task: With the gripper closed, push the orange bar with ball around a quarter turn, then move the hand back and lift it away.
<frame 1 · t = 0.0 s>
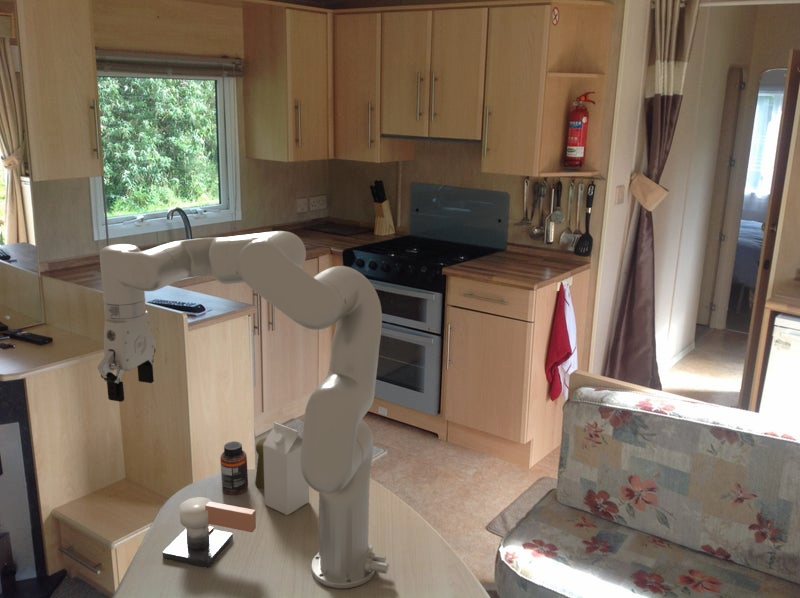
hand: (131, 390, 148), 31 cm above the table, tool pointing down, fingers open, 9 cm apart
supplement bottle: (235, 489, 172), on the table
milk carton: (287, 504, 167), on the table
orange bar with ball: (217, 514, 146), point 9 cm above the table, hinge at 0.0°
coupling base: (198, 548, 150), on the table
cork: (268, 483, 175), on the table
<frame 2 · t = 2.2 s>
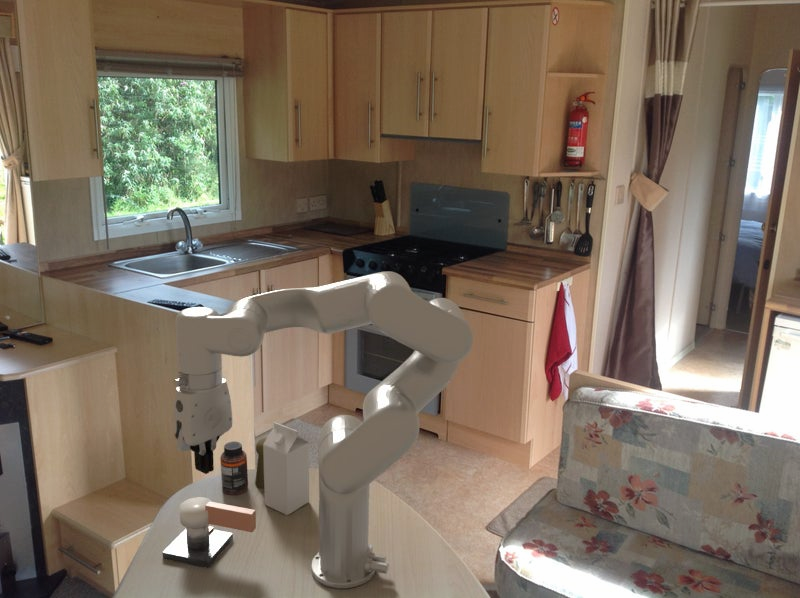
hand: (204, 469, 136), 22 cm above the table, tool pointing down, fingers closed
nothing on the table moved.
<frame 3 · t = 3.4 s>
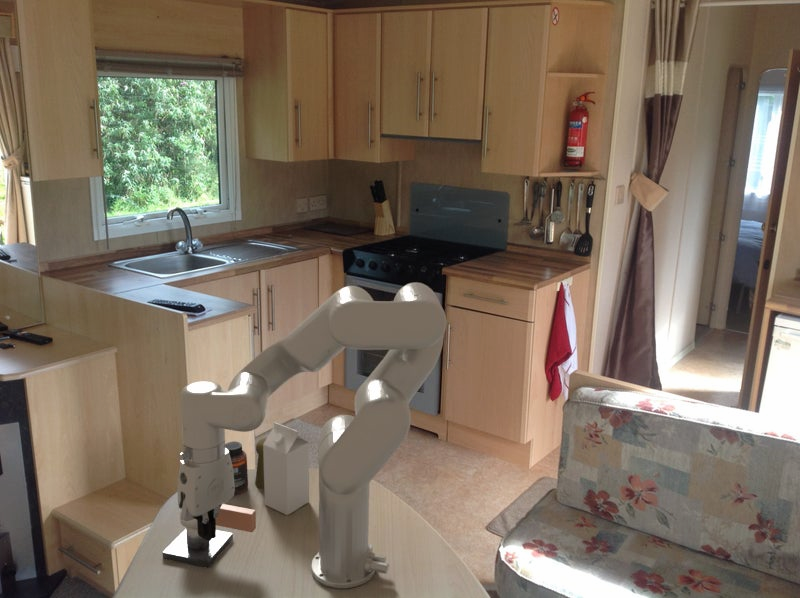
hand: (207, 536, 140), 8 cm above the table, tool pointing down, fingers closed
nothing on the table moved.
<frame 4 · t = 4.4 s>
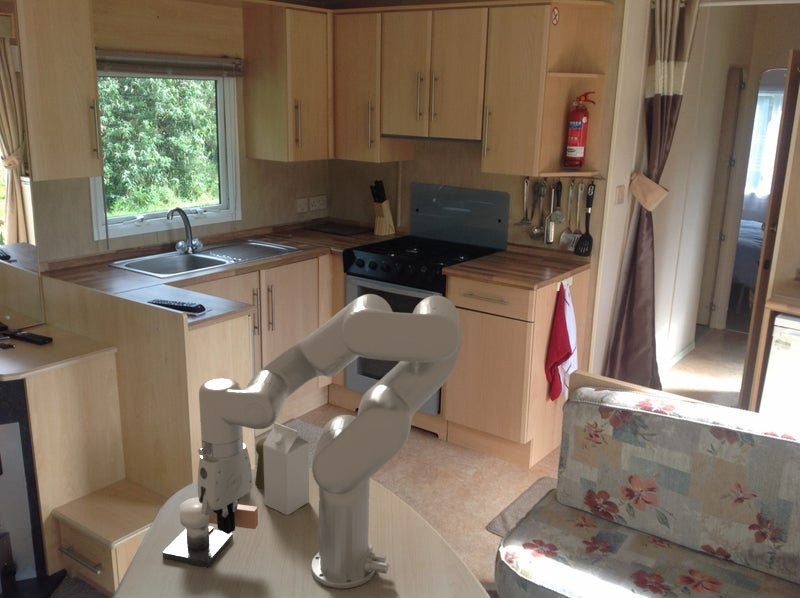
hand: (226, 529, 143), 8 cm above the table, tool pointing down, fingers closed
orange bar with ball: (218, 513, 147), point 9 cm above the table, hinge at 5.4°, touching gripper
everything else where it was.
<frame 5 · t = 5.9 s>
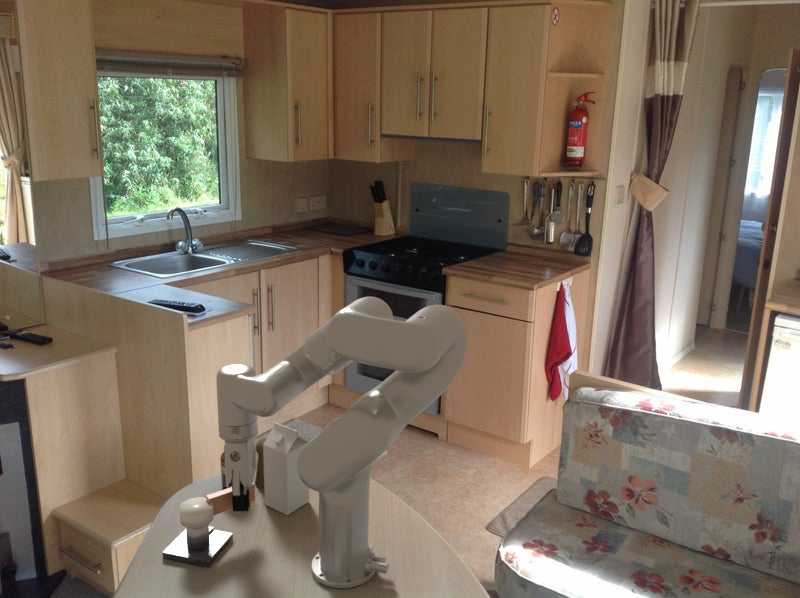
hand: (241, 509, 150), 8 cm above the table, tool pointing down, fingers closed
orange bar with ball: (218, 502, 150), point 9 cm above the table, hinge at 54.6°, touching gripper
everything else where it was.
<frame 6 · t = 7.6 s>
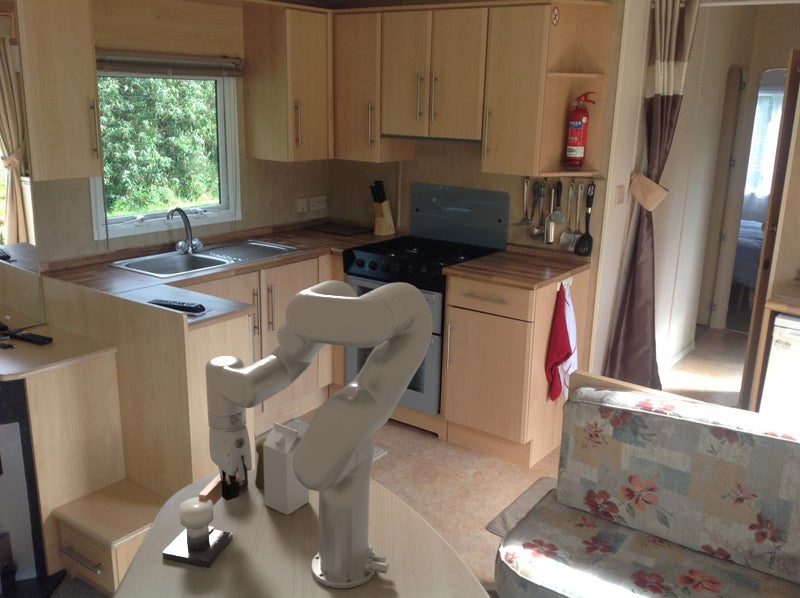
hand: (231, 497, 155), 8 cm above the table, tool pointing down, fingers closed
orange bar with ball: (207, 498, 152), point 9 cm above the table, hinge at 91.4°, touching gripper
everything else where it was.
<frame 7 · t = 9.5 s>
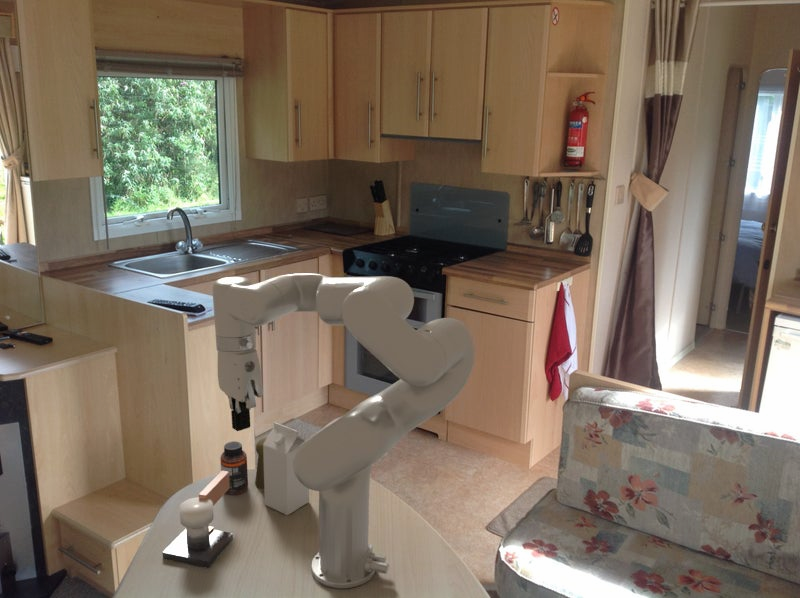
hand: (241, 427, 148), 24 cm above the table, tool pointing down, fingers closed
orange bar with ball: (207, 498, 152), point 9 cm above the table, hinge at 91.4°
everything else where it was.
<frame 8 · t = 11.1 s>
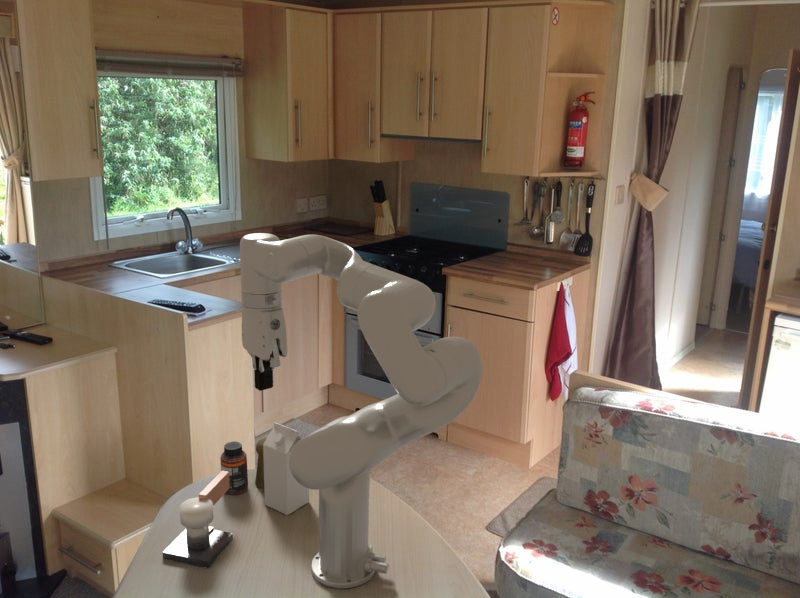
hand: (264, 387, 146), 33 cm above the table, tool pointing down, fingers closed
nothing on the table moved.
at the end: orange bar with ball at +91° (first picture: +0°); the gripper is holding nothing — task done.
